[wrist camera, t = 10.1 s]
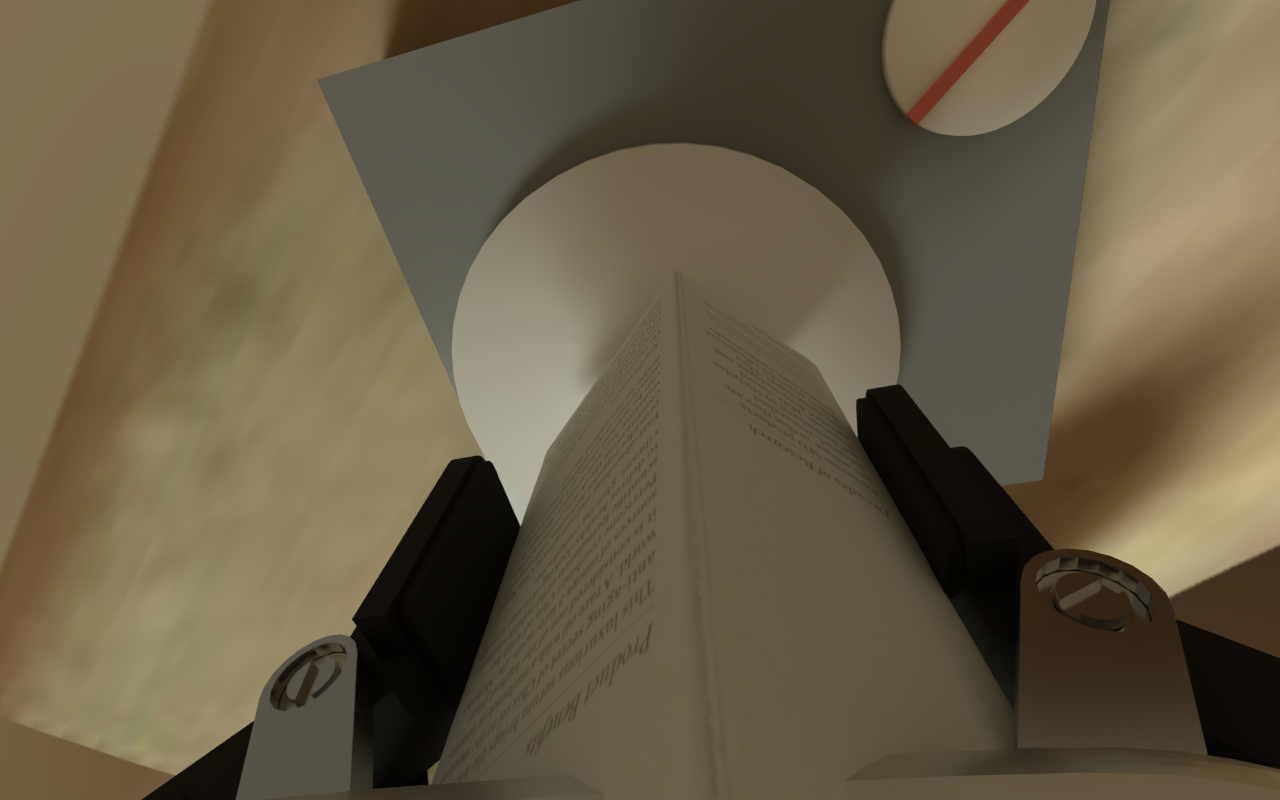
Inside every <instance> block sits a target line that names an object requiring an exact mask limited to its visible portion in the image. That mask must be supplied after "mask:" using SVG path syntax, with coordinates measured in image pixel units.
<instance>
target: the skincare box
mask: <svg viewBox="0 0 1280 800" xmlns="http://www.w3.org/2000/svg"><path fill="white" fill-rule="evenodd" d="M995 749H1015V746H1014V710H1013V709H1012V707H1011V705H1010V703H1009V701H1008V700H1007V698H1006V696H1005V694H1004V693H1003V691H1002V689H1001V688H1000V686H999V684H998V683H997V681H996V679H995V678H994V676H993V674H992V673H991V671H990V669H989V667H988V665H987V664H986V662H985V660H984V658H983V657H982V655H981V653H980V651H979V650H978V648H977V646H976V645H975V643H974V641H973V639H972V638H971V636H970V634H969V633H968V631H967V629H966V628H965V626H964V624H963V622H962V621H961V619H960V617H959V615H958V614H957V612H956V610H955V608H954V607H953V605H952V603H951V601H950V600H949V598H948V596H947V595H946V594H945V592H944V590H943V588H942V587H941V585H940V583H939V581H938V580H937V578H936V576H935V574H934V572H933V570H932V569H931V567H930V565H929V563H928V561H927V559H926V558H925V556H924V554H923V552H922V551H921V549H920V547H919V545H918V543H917V542H916V540H915V538H914V536H913V534H912V533H911V531H910V529H909V527H908V525H907V524H906V522H905V520H904V518H903V517H902V515H901V513H900V512H899V510H898V508H897V506H896V504H895V503H894V501H893V499H892V497H891V496H890V494H889V492H888V490H887V488H886V487H885V485H884V483H883V481H882V480H881V478H880V476H879V474H878V473H877V471H876V469H875V468H874V466H873V464H872V462H871V461H870V459H869V457H868V455H867V454H866V452H865V450H864V448H863V447H862V445H861V443H860V441H859V439H858V438H857V437H856V435H855V433H854V431H853V429H852V427H851V426H850V424H849V422H848V420H847V419H846V417H845V415H844V413H843V412H842V410H841V408H840V406H839V405H838V403H837V401H836V399H835V398H834V396H833V394H832V392H831V390H830V389H829V387H828V385H827V383H826V381H825V380H824V378H823V376H822V374H821V373H820V371H819V369H818V368H817V366H816V365H815V364H814V363H812V362H811V361H810V360H809V359H808V358H806V357H805V356H803V355H802V354H800V353H798V352H797V351H795V350H794V349H792V348H791V347H789V346H788V345H786V344H785V343H783V342H781V341H780V340H779V339H777V338H776V337H775V336H773V335H772V334H770V333H769V332H768V331H766V330H765V329H763V328H762V327H761V326H759V325H758V324H756V323H755V322H754V321H752V320H751V319H749V318H748V317H747V316H745V315H744V314H742V313H741V312H739V311H738V310H737V309H735V308H734V307H732V306H731V305H729V304H728V303H727V302H725V301H724V300H722V299H721V298H719V297H718V296H717V295H715V294H714V293H712V292H711V291H709V290H708V289H707V288H705V287H704V286H702V285H701V284H700V283H698V282H697V281H695V280H694V279H692V278H691V277H689V276H688V275H686V274H685V273H683V272H681V271H676V272H674V273H673V274H672V275H671V277H670V278H669V279H668V281H667V282H666V284H665V285H664V286H663V288H662V289H661V291H660V292H659V293H658V295H657V296H656V298H655V299H654V300H653V302H652V303H651V305H650V306H649V307H648V309H647V310H646V312H645V313H644V314H643V316H642V317H641V319H640V320H639V321H638V323H637V324H636V326H635V327H634V329H633V330H632V331H631V333H630V334H629V336H628V337H627V338H626V340H625V341H624V343H623V344H622V346H621V347H620V349H619V350H618V351H617V353H616V354H615V355H614V357H613V358H612V360H611V361H610V362H609V364H608V365H607V367H606V368H605V369H604V371H603V372H602V374H601V375H600V376H599V378H598V379H597V381H596V382H595V384H594V385H593V386H592V388H591V389H590V391H589V392H588V393H587V395H586V396H585V398H584V399H583V400H582V402H581V403H580V405H579V406H578V408H577V409H576V411H575V412H574V413H573V415H572V416H571V418H570V419H569V420H568V422H567V423H566V425H565V426H564V428H563V429H562V430H561V432H560V433H559V435H558V436H557V438H556V439H555V440H554V442H553V443H552V444H551V446H550V447H549V449H548V450H547V452H546V455H545V457H544V461H543V464H542V467H541V470H540V473H539V476H538V478H537V481H536V484H535V486H534V489H533V492H532V495H531V498H530V501H529V503H528V506H527V509H526V512H525V515H524V518H523V521H522V524H521V527H520V530H519V533H518V536H517V538H516V541H515V544H514V547H513V550H512V552H511V555H510V558H509V561H508V564H507V568H506V571H505V574H504V577H503V580H502V583H501V586H500V588H499V591H498V594H497V597H496V600H495V603H494V605H493V608H492V612H491V615H490V618H489V621H488V624H487V626H486V629H485V632H484V635H483V638H482V641H481V643H480V646H479V649H478V652H477V655H476V658H475V661H474V664H473V666H472V669H471V672H470V675H469V678H468V681H467V684H466V687H465V690H464V693H463V695H462V698H461V701H460V704H459V707H458V709H457V712H456V715H455V718H454V720H453V723H452V726H451V729H450V731H449V734H448V738H447V741H446V744H445V747H444V750H443V753H442V755H441V758H440V761H439V764H438V767H437V769H436V772H435V775H434V778H433V781H432V784H431V785H434V784H447V783H461V782H475V781H489V780H502V779H516V778H531V777H546V776H560V775H569V776H571V777H573V778H575V779H577V780H579V781H581V782H583V783H585V784H587V785H589V786H590V787H592V788H594V789H596V790H598V791H600V792H602V793H604V800H849V796H848V793H847V789H846V785H845V781H846V780H847V779H848V778H850V777H851V776H852V775H854V774H855V773H856V772H858V771H859V770H861V769H862V768H864V767H866V766H867V765H869V764H871V763H873V762H875V761H877V760H879V759H881V758H883V757H885V756H887V755H890V754H906V753H926V752H949V751H972V750H995Z"/></svg>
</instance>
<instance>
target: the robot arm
mask: <svg viewBox="0 0 1280 800" xmlns="http://www.w3.org/2000/svg"><path fill="white" fill-rule="evenodd" d="M856 417H857V435H858V439H859V441H860V443H861V445H862V447H863V448H864V450H865V452H866V454H867V455H868V457H869V459H870V461H871V462H872V464H873V466H874V468H875V469H876V471H877V473H878V474H879V476H880V478H881V480H882V481H883V483H884V485H885V487H886V488H887V490H888V492H889V494H890V496H891V497H892V499H893V501H894V503H895V504H896V506H897V508H898V510H899V512H900V513H901V515H902V517H903V518H904V520H905V522H906V524H907V525H908V527H909V529H910V531H911V533H912V534H913V536H914V538H915V540H916V542H917V543H918V545H919V547H920V549H921V551H922V552H923V554H924V556H925V558H926V559H927V561H928V563H929V565H930V567H931V569H932V570H933V572H934V574H935V576H936V578H937V580H938V581H939V583H940V585H941V587H942V588H943V590H944V592H945V594H946V595H947V596H948V598H949V600H950V601H951V603H952V605H953V607H954V608H955V610H956V612H957V614H958V615H959V617H960V619H961V621H962V622H963V624H964V626H965V628H966V629H967V631H968V633H969V634H970V636H971V638H972V639H973V641H974V643H975V645H976V646H977V648H978V650H979V651H980V653H981V655H982V657H983V658H984V660H985V662H986V664H987V665H988V667H989V669H990V671H991V673H992V674H993V676H994V678H995V679H996V681H997V683H998V684H999V686H1000V688H1001V689H1002V691H1003V693H1004V694H1005V696H1006V698H1007V700H1008V701H1009V703H1010V705H1011V707H1012V709H1013V710H1014V746H1015V749H995V750H972V751H949V752H926V753H906V754H890V755H887V756H885V757H883V758H881V759H879V760H877V761H875V762H873V763H871V764H869V765H867V766H866V767H864V768H862V769H861V770H859V771H858V772H856V773H855V774H854V775H852V776H851V777H850V778H848V779H847V780H846V781H845V785H846V789H847V793H848V796H849V800H1280V658H1278V657H1275V656H1272V655H1270V654H1267V653H1264V652H1262V651H1259V650H1256V649H1254V648H1251V647H1248V646H1246V645H1243V644H1240V643H1238V642H1235V641H1232V640H1230V639H1227V638H1224V637H1222V636H1219V635H1216V634H1214V633H1211V632H1208V631H1206V630H1203V629H1201V628H1198V627H1195V626H1192V625H1190V624H1187V623H1185V622H1182V621H1179V620H1177V619H1176V617H1175V613H1174V609H1173V606H1172V604H1171V602H1170V600H1169V598H1168V596H1167V594H1166V592H1165V591H1164V590H1163V589H1162V588H1161V587H1160V586H1159V585H1158V584H1157V583H1156V582H1155V581H1154V580H1153V579H1152V578H1151V577H1149V576H1148V575H1146V574H1145V573H1143V572H1141V571H1140V570H1138V569H1137V568H1135V567H1134V566H1132V565H1130V564H1128V563H1125V562H1123V561H1121V560H1118V559H1116V558H1114V557H1112V556H1108V555H1104V554H1100V553H1096V552H1093V551H1089V550H1078V549H1059V550H1054V549H1053V548H1052V547H1051V545H1050V544H1049V543H1048V542H1047V541H1046V539H1045V538H1044V537H1043V536H1042V535H1041V533H1040V532H1039V531H1038V530H1037V529H1036V527H1035V526H1034V525H1033V524H1032V523H1031V521H1030V520H1029V519H1028V518H1027V517H1026V516H1025V514H1024V513H1023V512H1022V511H1021V510H1020V508H1019V507H1018V506H1017V505H1016V504H1015V502H1014V501H1013V500H1012V499H1011V498H1010V496H1009V495H1008V494H1007V493H1006V492H1005V490H1004V489H1003V488H1002V487H1001V486H1000V484H999V483H998V482H997V481H996V480H995V478H994V477H993V476H992V475H991V474H990V472H989V471H988V470H987V469H986V468H985V466H984V465H983V464H982V463H981V462H980V461H979V459H978V458H977V457H976V456H975V455H974V453H973V452H972V451H971V450H969V449H968V448H967V447H964V446H959V447H953V448H950V446H949V445H948V444H947V443H946V441H945V440H944V439H943V438H942V436H941V435H940V434H939V432H938V431H937V430H936V429H935V427H934V426H933V425H932V424H931V422H930V421H929V420H928V418H927V417H926V416H925V415H924V413H923V412H922V411H921V409H920V408H919V407H918V406H917V404H916V403H915V402H914V401H913V399H912V398H911V397H910V395H909V394H908V393H907V392H906V390H905V389H904V388H903V387H902V386H901V385H900V384H896V385H890V386H884V387H878V388H872V389H867V391H866V397H865V398H859V399H857V400H856ZM520 527H521V526H520V524H519V522H518V519H517V517H516V515H515V512H514V510H513V508H512V506H511V503H510V501H509V499H508V496H507V494H506V492H505V490H504V487H503V485H502V483H501V480H500V478H499V476H498V474H497V471H496V469H495V467H494V465H493V463H492V462H491V461H485V460H484V459H483V458H482V457H481V456H479V455H478V456H472V457H466V458H460V459H454V460H451V462H450V463H449V464H448V465H447V467H446V469H445V470H444V472H443V474H442V475H441V477H440V478H439V480H438V482H437V483H436V485H435V486H434V488H433V490H432V491H431V493H430V494H429V496H428V498H427V499H426V501H425V503H424V504H423V506H422V507H421V509H420V511H419V512H418V514H417V515H416V517H415V519H414V520H413V522H412V523H411V525H410V527H409V528H408V530H407V532H406V533H405V535H404V536H403V538H402V540H401V541H400V543H399V544H398V546H397V548H396V549H395V551H394V552H393V554H392V556H391V557H390V559H389V561H388V562H387V564H386V565H385V567H384V569H383V570H382V572H381V573H380V575H379V577H378V578H377V580H376V581H375V583H374V585H373V586H372V588H371V590H370V591H369V593H368V594H367V596H366V598H365V599H364V601H363V602H362V604H361V606H360V607H359V609H358V610H357V612H356V614H355V615H354V617H353V619H352V620H353V621H354V623H355V624H356V628H355V630H354V631H353V633H352V635H351V636H350V637H349V636H345V635H341V634H339V635H332V636H327V637H324V638H321V639H319V640H316V641H314V642H312V643H310V644H308V645H307V646H305V647H303V648H301V649H300V650H298V651H297V652H296V653H295V654H293V655H292V656H291V657H289V658H288V659H287V660H286V661H285V662H284V663H283V664H282V665H281V666H280V667H279V668H278V669H277V670H276V671H275V672H274V673H273V675H272V676H271V678H270V679H269V681H268V682H267V683H266V685H265V686H264V689H263V691H262V694H261V696H260V699H259V703H258V707H257V711H256V716H255V720H254V721H253V722H252V723H250V724H249V725H247V726H246V727H244V728H243V729H242V730H240V731H239V732H237V733H236V734H235V735H233V736H232V737H230V738H229V739H227V740H226V741H225V742H223V743H222V744H220V745H219V746H217V747H216V748H215V749H213V750H212V751H210V752H209V753H207V754H206V755H205V756H203V757H202V758H200V759H199V760H197V761H196V762H195V763H193V764H192V765H190V766H189V767H188V768H186V769H185V770H183V771H182V772H180V773H179V774H178V775H176V776H175V777H173V778H172V779H170V780H169V781H168V782H166V783H165V784H163V785H162V786H160V787H159V788H158V789H156V790H155V791H153V792H152V793H150V794H149V795H148V796H146V797H145V798H143V799H142V800H604V793H602V792H600V791H598V790H596V789H594V788H592V787H590V786H589V785H587V784H585V783H583V782H581V781H579V780H577V779H575V778H573V777H571V776H569V775H560V776H546V777H531V778H516V779H502V780H489V781H475V782H461V783H447V784H434V785H431V784H432V781H433V778H434V775H435V772H436V769H437V767H438V764H439V763H438V761H439V760H440V758H441V755H442V753H443V750H444V747H445V744H446V741H447V738H448V734H449V731H450V729H451V726H452V723H453V720H454V718H455V715H456V712H457V709H458V707H459V704H460V701H461V698H462V695H463V693H464V690H465V687H466V684H467V681H468V678H469V675H470V672H471V669H472V666H473V664H474V661H475V658H476V655H477V652H478V649H479V646H480V643H481V641H482V638H483V635H484V632H485V629H486V626H487V624H488V621H489V618H490V615H491V612H492V608H493V605H494V603H495V600H496V597H497V594H498V591H499V588H500V586H501V583H502V580H503V577H504V574H505V571H506V568H507V564H508V561H509V558H510V555H511V552H512V550H513V547H514V544H515V541H516V538H517V536H518V533H519V530H520Z"/></svg>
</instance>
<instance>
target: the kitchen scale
mask: <svg viewBox="0 0 1280 800" xmlns="http://www.w3.org/2000/svg"><path fill="white" fill-rule="evenodd" d="M1109 1H1110V0H579V1H576V2H572V3H569V4H566V5H562V6H559V7H556V8H552V9H549V10H546V11H543V12H539V13H536V14H533V15H529V16H526V17H523V18H519V19H516V20H513V21H510V22H506V23H503V24H500V25H496V26H493V27H490V28H486V29H483V30H480V31H477V32H473V33H470V34H467V35H463V36H460V37H457V38H453V39H450V40H447V41H444V42H440V43H437V44H434V45H430V46H427V47H424V48H420V49H417V50H414V51H411V52H407V53H404V54H401V55H397V56H394V57H391V58H387V59H384V60H381V61H378V62H374V63H371V64H368V65H364V66H361V67H358V68H354V69H351V70H348V71H345V72H341V73H338V74H335V75H331V76H328V77H325V78H321V79H318V82H319V85H320V87H321V89H322V91H323V94H324V96H325V98H326V100H327V103H328V105H329V107H330V109H331V112H332V114H333V116H334V118H335V121H336V123H337V125H338V127H339V130H340V132H341V134H342V137H343V139H344V141H345V143H346V146H347V148H348V150H349V152H350V155H351V157H352V159H353V161H354V164H355V166H356V168H357V170H358V173H359V175H360V177H361V179H362V182H363V184H364V186H365V189H366V191H367V193H368V195H369V198H370V200H371V202H372V204H373V207H374V209H375V211H376V213H377V216H378V218H379V220H380V222H381V225H382V227H383V229H384V231H385V234H386V236H387V238H388V241H389V243H390V245H391V247H392V250H393V252H394V254H395V256H396V259H397V261H398V263H399V265H400V268H401V270H402V272H403V274H404V277H405V279H406V281H407V283H408V286H409V288H410V290H411V293H412V295H413V297H414V299H415V302H416V304H417V306H418V308H419V311H420V313H421V315H422V317H423V320H424V322H425V324H426V326H427V329H428V331H429V333H430V335H431V338H432V340H433V342H434V345H435V347H436V349H437V351H438V354H439V356H440V358H441V360H442V363H443V365H444V367H445V369H446V372H447V374H448V376H449V378H450V381H451V383H452V385H453V387H454V390H455V392H456V394H457V397H458V399H459V402H460V404H461V407H462V410H463V413H464V415H465V418H466V421H467V423H468V426H469V427H470V429H471V431H472V433H473V435H474V437H475V439H476V441H477V443H478V445H479V446H480V448H481V451H482V453H483V455H484V458H485V460H486V461H491V462H492V463H493V465H494V467H495V469H496V471H497V474H498V476H499V478H500V480H501V483H502V485H503V487H504V490H505V492H506V494H507V496H508V499H509V501H510V503H511V506H512V508H513V510H514V512H515V515H516V517H517V519H518V522H519V524H520V526H521V524H522V521H523V518H524V515H525V512H526V509H527V506H528V503H529V501H530V498H531V495H532V492H533V489H534V486H535V484H536V481H537V478H538V476H539V473H540V470H541V467H542V464H543V461H544V457H545V455H546V452H547V450H548V449H549V447H550V446H551V444H552V443H553V442H554V440H555V439H556V438H557V436H558V435H559V433H560V432H561V430H562V429H563V428H564V426H565V425H566V423H567V422H568V420H569V419H570V418H571V416H572V415H573V413H574V412H575V411H576V409H577V408H578V406H579V405H580V403H581V402H582V400H583V399H584V398H585V396H586V395H587V393H588V392H589V391H590V389H591V388H592V386H593V385H594V384H595V382H596V381H597V379H598V378H599V376H600V375H601V374H602V372H603V371H604V369H605V368H606V367H607V365H608V364H609V362H610V361H611V360H612V358H613V357H614V355H615V354H616V353H617V351H618V350H619V349H620V347H621V346H622V344H623V343H624V341H625V340H626V338H627V337H628V336H629V334H630V333H631V331H632V330H633V329H634V327H635V326H636V324H637V323H638V321H639V320H640V319H641V317H642V316H643V314H644V313H645V312H646V310H647V309H648V307H649V306H650V305H651V303H652V302H653V300H654V299H655V298H656V296H657V295H658V293H659V292H660V291H661V289H662V288H663V286H664V285H665V284H666V282H667V281H668V279H669V278H670V277H671V275H672V274H673V273H674V272H676V271H681V272H683V273H685V274H686V275H688V276H689V277H691V278H692V279H694V280H695V281H697V282H698V283H700V284H701V285H702V286H704V287H705V288H707V289H708V290H709V291H711V292H712V293H714V294H715V295H717V296H718V297H719V298H721V299H722V300H724V301H725V302H727V303H728V304H729V305H731V306H732V307H734V308H735V309H737V310H738V311H739V312H741V313H742V314H744V315H745V316H747V317H748V318H749V319H751V320H752V321H754V322H755V323H756V324H758V325H759V326H761V327H762V328H763V329H765V330H766V331H768V332H769V333H770V334H772V335H773V336H775V337H776V338H777V339H779V340H780V341H781V342H783V343H785V344H786V345H788V346H789V347H791V348H792V349H794V350H795V351H797V352H798V353H800V354H802V355H803V356H805V357H806V358H808V359H809V360H810V361H811V362H812V363H814V364H815V365H816V366H817V368H818V369H819V371H820V373H821V374H822V376H823V378H824V380H825V381H826V383H827V385H828V387H829V389H830V390H831V392H832V394H833V396H834V398H835V399H836V401H837V403H838V405H839V406H840V408H841V410H842V412H843V413H844V415H845V417H846V419H847V420H848V422H849V424H850V426H851V427H852V429H853V431H854V433H855V435H856V437H857V438H858V435H857V417H856V400H857V399H859V398H865V397H866V391H867V389H872V388H878V387H884V386H890V385H896V384H900V385H901V386H902V387H903V388H904V389H905V390H906V392H907V393H908V394H909V395H910V397H911V398H912V399H913V401H914V402H915V403H916V404H917V406H918V407H919V408H920V409H921V411H922V412H923V413H924V415H925V416H926V417H927V418H928V420H929V421H930V422H931V424H932V425H933V426H934V427H935V429H936V430H937V431H938V432H939V434H940V435H941V436H942V438H943V439H944V440H945V441H946V443H947V444H948V445H949V446H950V448H953V447H959V446H964V447H967V448H968V449H969V450H971V451H972V452H973V453H974V455H975V456H976V457H977V458H978V459H979V461H980V462H981V463H982V464H983V465H984V466H985V468H986V469H987V470H988V471H989V472H990V474H991V475H992V476H993V477H994V478H995V480H996V481H997V482H998V483H999V484H1000V486H1005V485H1012V484H1019V483H1026V482H1033V481H1040V480H1043V476H1044V469H1045V462H1046V454H1047V447H1048V440H1049V433H1050V426H1051V418H1052V411H1053V404H1054V397H1055V390H1056V382H1057V375H1058V368H1059V361H1060V354H1061V346H1062V339H1063V332H1064V325H1065V318H1066V310H1067V303H1068V296H1069V289H1070V282H1071V274H1072V267H1073V260H1074V253H1075V246H1076V238H1077V231H1078V224H1079V217H1080V210H1081V202H1082V195H1083V188H1084V181H1085V174H1086V167H1087V159H1088V152H1089V145H1090V138H1091V131H1092V123H1093V116H1094V109H1095V102H1096V95H1097V87H1098V80H1099V73H1100V66H1101V59H1102V51H1103V44H1104V37H1105V30H1106V23H1107V15H1108V8H1109Z"/></svg>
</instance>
